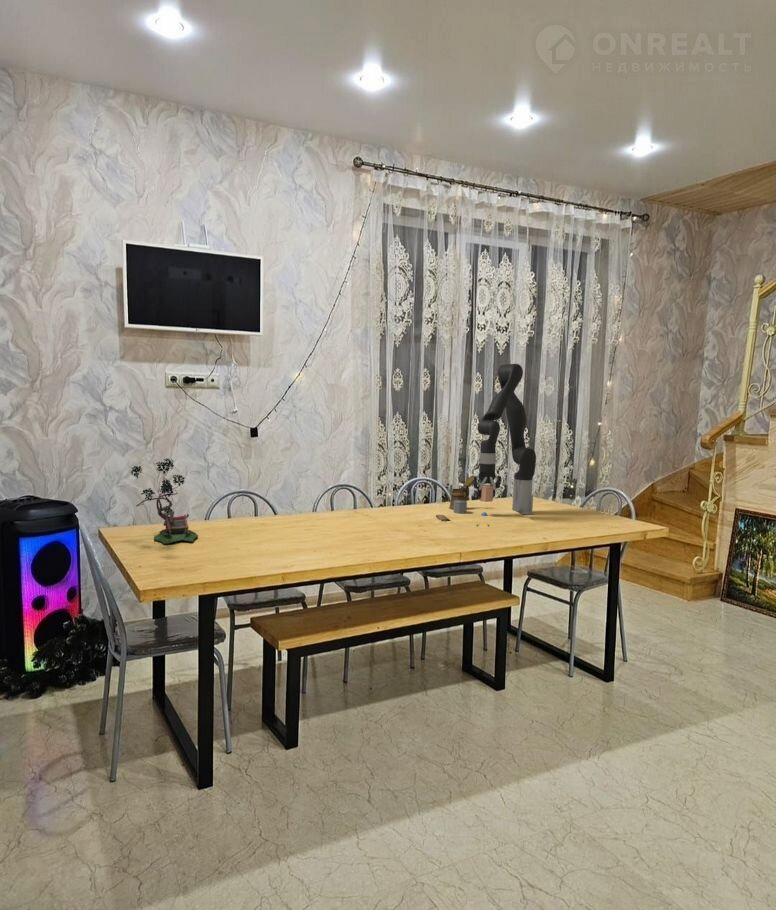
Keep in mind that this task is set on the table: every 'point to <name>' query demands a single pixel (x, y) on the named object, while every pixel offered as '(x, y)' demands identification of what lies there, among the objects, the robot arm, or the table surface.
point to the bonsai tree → (174, 525)
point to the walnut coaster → (442, 518)
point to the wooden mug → (461, 492)
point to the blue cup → (460, 506)
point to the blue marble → (484, 514)
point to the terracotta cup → (486, 493)
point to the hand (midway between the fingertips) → (486, 497)
